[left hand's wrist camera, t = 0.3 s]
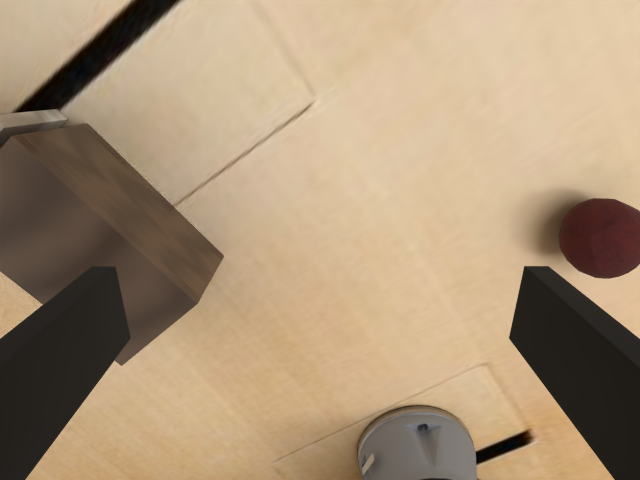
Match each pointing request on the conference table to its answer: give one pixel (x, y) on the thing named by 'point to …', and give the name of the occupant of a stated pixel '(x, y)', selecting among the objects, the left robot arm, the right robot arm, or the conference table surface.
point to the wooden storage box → (97, 229)
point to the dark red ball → (602, 238)
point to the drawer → (29, 123)
